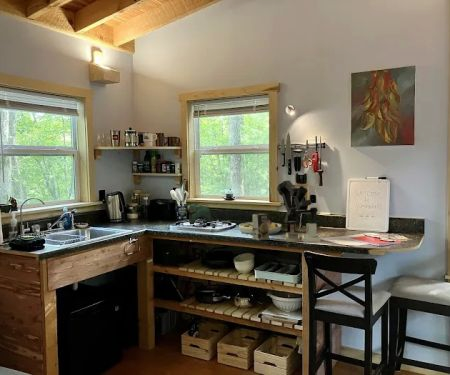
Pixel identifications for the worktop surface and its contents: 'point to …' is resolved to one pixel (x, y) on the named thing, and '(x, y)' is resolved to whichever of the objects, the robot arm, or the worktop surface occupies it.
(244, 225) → the bowl
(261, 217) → the coffee box
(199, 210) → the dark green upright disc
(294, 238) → the plane body
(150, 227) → the worktop surface
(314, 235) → the lever cap
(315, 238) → the tray
